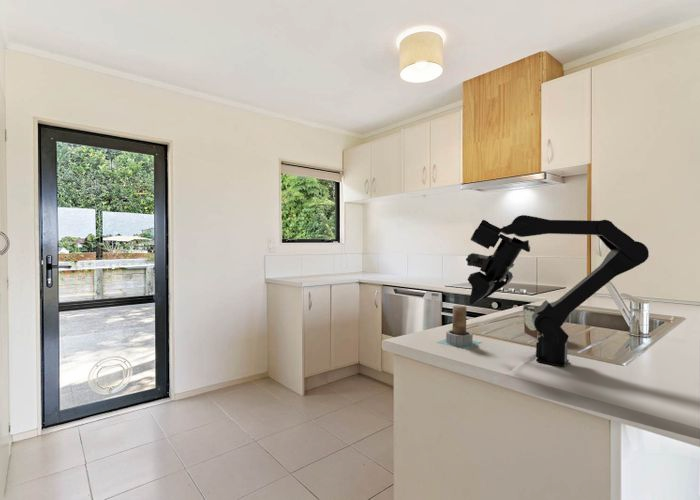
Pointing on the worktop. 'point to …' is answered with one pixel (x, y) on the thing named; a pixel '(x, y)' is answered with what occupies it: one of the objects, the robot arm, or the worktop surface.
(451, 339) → the ring stand
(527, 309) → the food container
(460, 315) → the walnut peg
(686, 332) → the worktop surface
